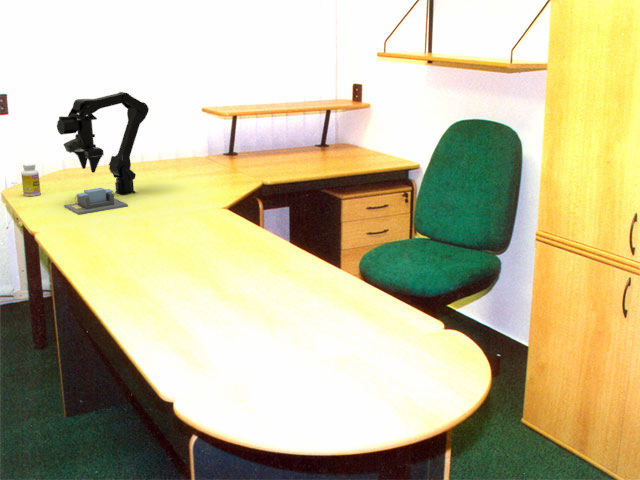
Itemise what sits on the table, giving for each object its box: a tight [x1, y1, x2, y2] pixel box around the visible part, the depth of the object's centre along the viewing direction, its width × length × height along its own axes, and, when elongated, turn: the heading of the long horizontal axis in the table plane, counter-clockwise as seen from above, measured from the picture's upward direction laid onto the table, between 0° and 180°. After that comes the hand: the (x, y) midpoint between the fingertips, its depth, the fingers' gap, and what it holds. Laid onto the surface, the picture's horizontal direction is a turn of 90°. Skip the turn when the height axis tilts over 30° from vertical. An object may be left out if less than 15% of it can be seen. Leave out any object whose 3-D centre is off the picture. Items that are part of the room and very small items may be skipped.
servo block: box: [76, 187, 114, 204], centre depth 279 cm, size 13×4×6 cm, turn 130°
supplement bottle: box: [21, 162, 41, 197], centre depth 295 cm, size 7×7×13 cm
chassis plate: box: [63, 192, 129, 216], centre depth 279 cm, size 20×14×5 cm
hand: (88, 170), depth 287 cm, fingers open, 9 cm apart
